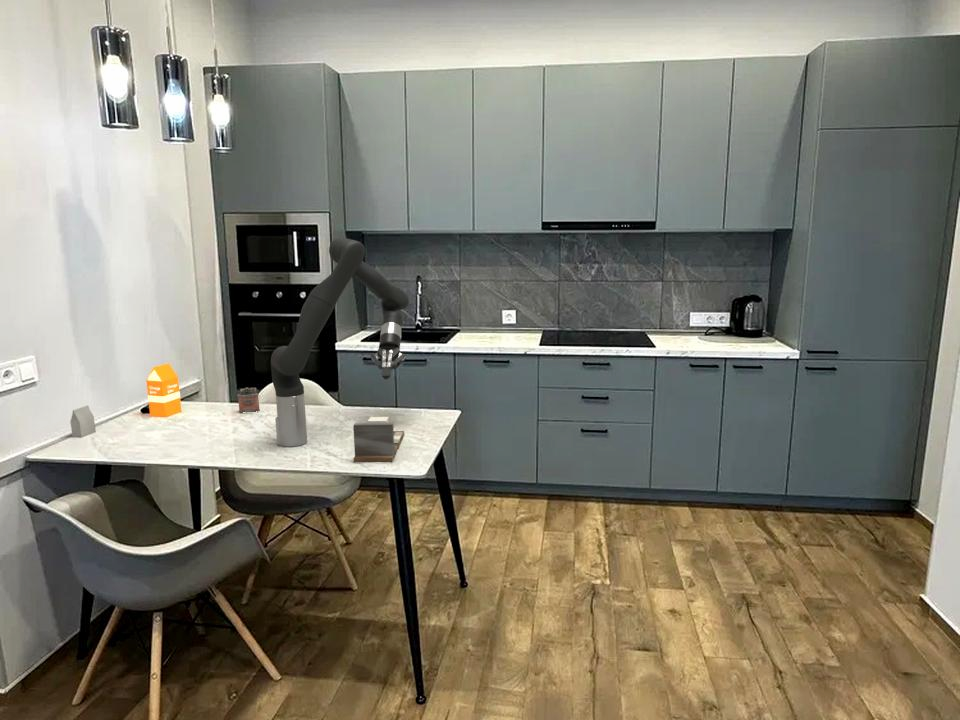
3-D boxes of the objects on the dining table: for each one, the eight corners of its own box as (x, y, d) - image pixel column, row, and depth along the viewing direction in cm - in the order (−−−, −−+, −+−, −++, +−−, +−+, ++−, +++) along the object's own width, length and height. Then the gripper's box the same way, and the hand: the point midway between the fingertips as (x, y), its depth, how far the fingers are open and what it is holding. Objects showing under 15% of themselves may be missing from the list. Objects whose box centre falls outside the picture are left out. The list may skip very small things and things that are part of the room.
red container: (238, 413, 261) (236, 389, 259) (239, 411, 264) (237, 387, 262) (259, 412, 263) (257, 388, 261) (260, 410, 266) (258, 386, 264)
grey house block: (95, 432, 239) (92, 405, 237) (81, 437, 233) (77, 410, 231) (87, 431, 240) (83, 405, 238) (72, 437, 233) (68, 410, 231)
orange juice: (149, 416, 259) (144, 367, 255) (166, 410, 268) (161, 362, 264) (166, 417, 257) (160, 367, 253) (182, 411, 265) (177, 363, 261)
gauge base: (370, 435, 231) (369, 403, 229) (404, 435, 230) (403, 403, 228) (353, 462, 203) (351, 427, 201) (392, 462, 203) (390, 426, 201)
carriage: (371, 442, 217) (370, 416, 215) (398, 442, 217) (397, 416, 215) (367, 449, 210) (366, 423, 208) (395, 449, 210) (394, 422, 208)
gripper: (370, 332, 237) (364, 372, 228) (406, 331, 236) (402, 372, 227) (374, 343, 244) (369, 383, 234) (410, 343, 243) (406, 383, 233)
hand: (385, 378), depth 231 cm, fingers closed
